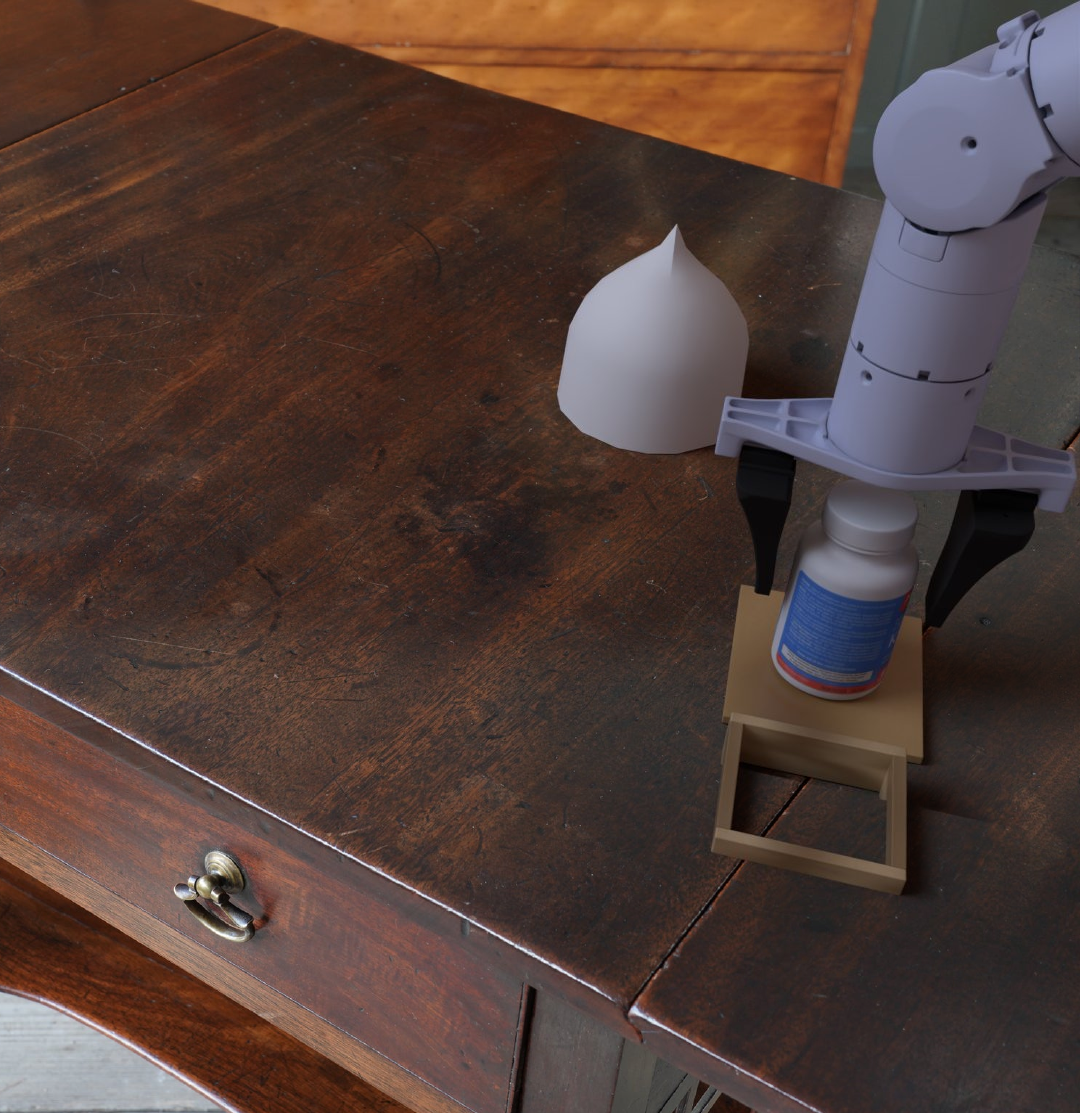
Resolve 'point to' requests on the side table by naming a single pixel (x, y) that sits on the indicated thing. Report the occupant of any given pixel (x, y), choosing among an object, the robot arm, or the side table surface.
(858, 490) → the pill bottle
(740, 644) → the pad
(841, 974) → the side table surface
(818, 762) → the frame
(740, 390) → the teardrop
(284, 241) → the side table surface
